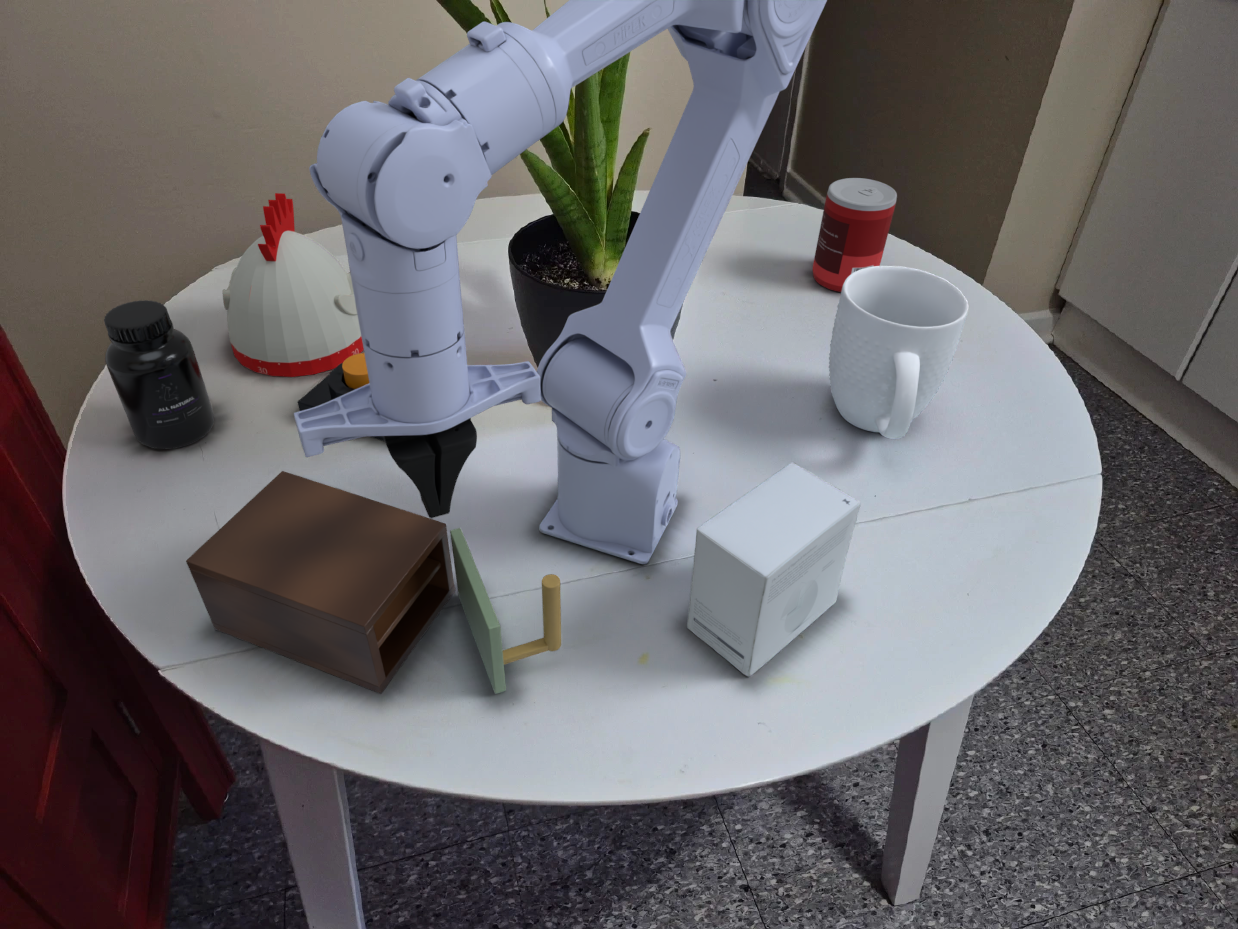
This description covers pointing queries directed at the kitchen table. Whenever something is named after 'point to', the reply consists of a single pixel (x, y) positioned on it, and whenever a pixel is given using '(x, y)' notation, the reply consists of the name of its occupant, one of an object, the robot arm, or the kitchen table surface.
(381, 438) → the switch box
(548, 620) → the shelf door
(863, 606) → the kitchen table surface
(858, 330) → the mug
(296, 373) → the kitchen timer
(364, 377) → the button
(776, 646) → the cosmetics box
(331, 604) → the shelf cabinet
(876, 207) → the canned food
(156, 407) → the supplement bottle
